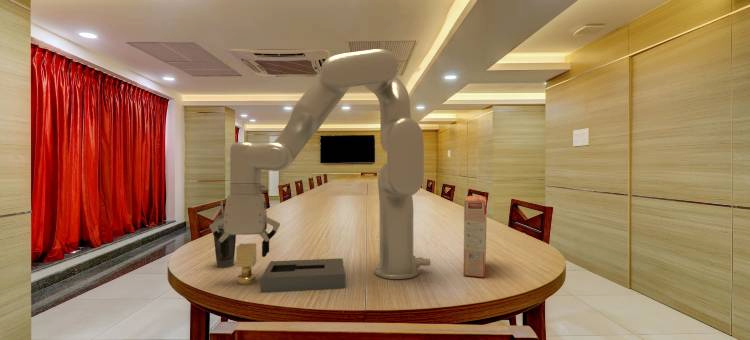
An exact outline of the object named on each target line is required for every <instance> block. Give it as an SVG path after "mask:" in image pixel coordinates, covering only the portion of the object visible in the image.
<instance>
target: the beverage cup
mask: <svg viewBox="0 0 750 340" xmlns="http://www.w3.org/2000/svg"><path fill="white" fill-rule="evenodd" d="M219 201H220V208H221V209H220V210H221V214H220V215H218V216H217V217H216V218H215V219H214V220H213V222H212V223H214V222H216V221H218V220H220V219H222V218H224V212H225V210H224V204H223V199H219ZM218 230H219V231H220V232H221V233H222V234H224V229H223V224H221V225H219V226H218ZM212 235H213V234H212ZM228 241H229V255H228V256H227V257H226V258H223V254H221V242H219V240H218V239H217V238H216V237H215V236H214V235H213V242H214V250H215V251H214V252H215V259H216V261H215V262H216V267H217V268H219V269H223V268H225V269H226V268H231V267H233V266H234V261H235V255H236V254H235V253H236V241H237V235H230V236H229V237H228Z"/></svg>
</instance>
